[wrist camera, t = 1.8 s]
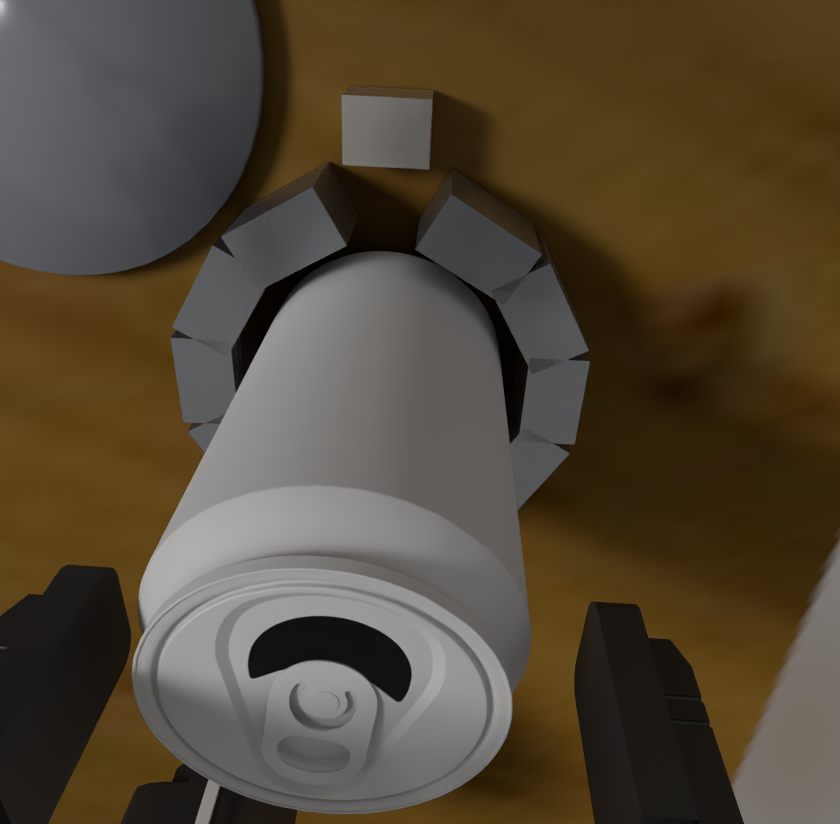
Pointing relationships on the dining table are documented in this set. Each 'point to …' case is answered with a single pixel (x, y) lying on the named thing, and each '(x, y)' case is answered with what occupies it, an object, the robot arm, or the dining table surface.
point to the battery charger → (199, 804)
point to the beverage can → (346, 555)
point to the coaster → (122, 126)
